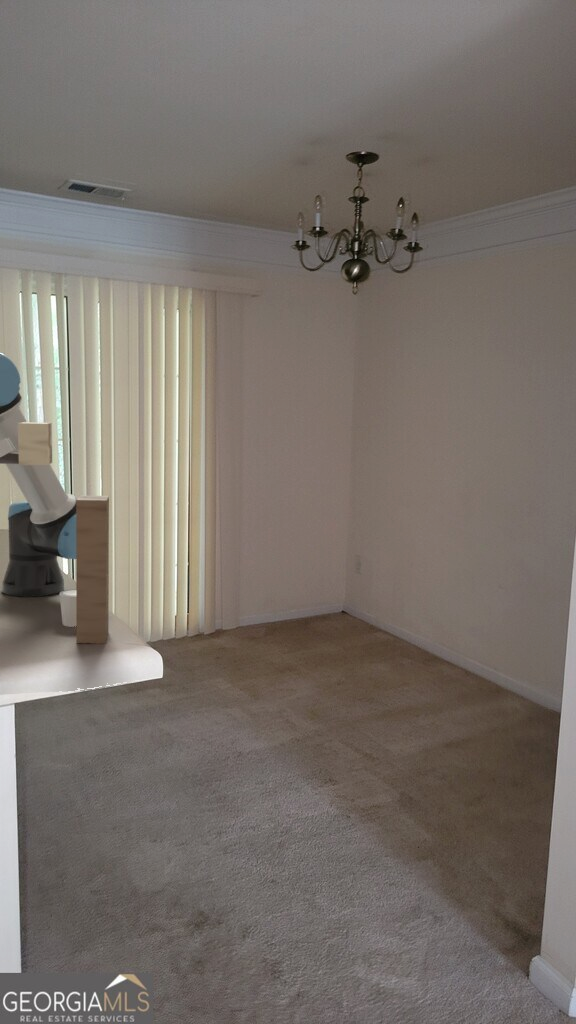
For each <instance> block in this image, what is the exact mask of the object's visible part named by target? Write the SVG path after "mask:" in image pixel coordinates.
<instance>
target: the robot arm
mask: <svg viewBox="0 0 576 1024" xmlns="http://www.w3.org/2000/svg"><path fill="white" fill-rule="evenodd" d="M20 384H21V375H20V373H19V370H18V367H17V366H16V364H15V363H14V362H13V361H12V360H11V358H10V357H8V356H7V355H6V354H4V353H2V352H0V457H2V456H4V455H6V454H8V453H19V451H18V423H22V422H28V421H27V419H26V418H25V416H24V414H23V412H22V410H21V408H20V405H21V403H22V399H23V398H22V396H21V393H20V389H21V387H20ZM5 466H6V468H8V470H9V473H10V474H11V476H12V477H13V479H14V481H15V483H16V484H17V487H18V488H19V489H20V491H21V493H22V495H23V497H24V498H25V500H26V501H21V502H19V501H18V502H13V503H11V504H9V506H8V515H7V516H8V517H7V521H8V564H7V567H6V570H5V573H4V576H3V579H2V582H1V591H2V593H3V594H4V595H8V596H16V597H42V596H49V595H50V596H51V595H55V594H58V593H60V592H62V591H65V579H64V576H63V573H62V569H61V567H60V564H59V561H58V557H60V558H62V559H65V560H71V559H72V560H76V500H77V499H78V498H77V497H75V495H73V494H72V493H71V494H70V493H66V491H65V489H64V487H63V486H62V484H61V482H60V479H59V478H58V476H57V475H56V473H55V470H54V469H53V467H52V466H51V464H49V465H19V464H5Z"/></svg>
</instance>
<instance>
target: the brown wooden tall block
mask: <svg viewBox="0 0 576 1024" xmlns="http://www.w3.org/2000/svg"><path fill="white" fill-rule="evenodd" d="M76 499H77V500H76V559H75V560H76V561H75V562H76V565H75V566H76V568H75V569H76V572H75V574H76V576H75V577H76V580H75V581H76V587H75V589H76V618H77V627H76V644H77V643H96V644H107V641H108V635H109V618H110V617H109V616H110V615H109V608H110V607H109V603H110V602H109V601H110V599H109V598H110V597H109V596H110V595H109V584H110V583H109V581H110V580H109V578H110V577H109V573H110V570H109V568H110V567H109V566H110V562H109V561H110V550H109V549H110V547H109V546H110V542H109V541H110V531H109V530H110V516H109V515H110V495H83V494H82V495H79V496H78V497H77V498H76Z"/></svg>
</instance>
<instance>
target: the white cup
mask: <svg viewBox="0 0 576 1024" xmlns="http://www.w3.org/2000/svg"><path fill="white" fill-rule="evenodd" d="M59 600H60V601H59V603H60V612H61V613H60V614H61V622H62V625H63V626H65V627H69V628H70V627H71V628H77V627H76V626H77V618H76V588H73V589H66V590H65V589H64V590H63V591H61V592H59ZM74 626H75V627H74Z"/></svg>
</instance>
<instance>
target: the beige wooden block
mask: <svg viewBox="0 0 576 1024" xmlns="http://www.w3.org/2000/svg"><path fill="white" fill-rule="evenodd" d="M52 427H53V426H52V422H32V421H31V422H30V421H29V422H28V421H27V422H22V423H18V451H19V453H8V454H6V455H4V456H2V457H0V464H2V465H3V464H4V465H6V464H19V465H49V464H50V465H51V464H53V429H52Z"/></svg>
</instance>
